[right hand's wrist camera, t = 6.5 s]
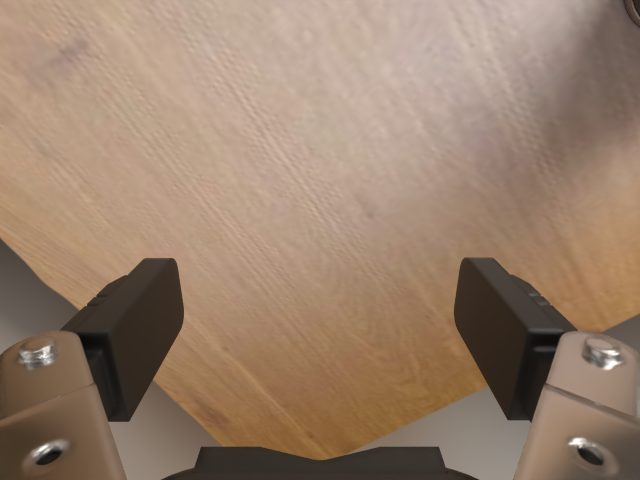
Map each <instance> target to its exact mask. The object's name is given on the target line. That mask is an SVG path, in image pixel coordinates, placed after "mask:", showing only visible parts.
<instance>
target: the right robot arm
mask: <svg viewBox="0 0 640 480" xmlns="http://www.w3.org/2000/svg"><path fill="white" fill-rule="evenodd" d="M624 2H625V6H626V9H627V12H628V13H629V15H630V17H631V18H632V20H633V21H634V22H635V23H636V24H637V25H638V26H639V27H640V0H624ZM454 318H455V324H456V327H457V329H458V331H459V333H460V335H461V337H462V338H463V340H464V342H465V344H466V346H467V347H468V349H469V351H470V353H471V355H472V356H473V358H474V360H475V362H476V364H477V365H478V367H479V369H480V371H481V373H482V375H483V376H484V378H485V380H486V382H487V384H488V385H489V387H490V389H491V391H492V392H493V394H494V396H495V398H496V400H497V402H498V403H499V405H500V407H501V409H502V410H503V412H504V414H505V416H506V418H507V419H508V420H530V422H531V426H530V429H529V432H528V435H527V438H526V441H525V444H524V447H523V450H522V453H521V456H520V460H519V463H518V466H517V469H516V472H515V475H514V478H513V480H640V355H639V354H638V353H637V352H636V351H635V350H633V349H632V348H631V347H629V346H627V345H626V344H624V343H622V342H620V341H618V340H616V339H614V338H611V337H608V336H605V335H602V334H598V333H594V332H588V331H578V330H577V329H576V328H575V327H574V326H573V325H572V324H571V323H570V322H569V321H568V320H567V319H566V318H565V317H564V316H563V315H562V314H561V313H560V312H558V311H557V310H556V309H555V308H554V307H553V306H552V305H550V303H549V302H548V301H547V300H546V299H545V298H544V297H543V296H541V294H540V293H539V292H538V291H537V290H536V289H535V288H534V287H533V286H532V285H530V284H529V283H527V282H525V281H524V280H522V279H520V278H518V277H516V276H514V275H510V274H509V273H508V272H507V271H506V270H505V269H504V268H503V267H502V266H501V265H500V264H499V263H498V262H497V261H496V260H495V259H494V258H464V259H463V260H462V262H461V265H460V271H459V278H458V285H457V292H456V298H455V305H454ZM183 319H184V306H183V299H182V293H181V286H180V279H179V273H178V267H177V263H176V261H175V260H174V259H173V258H145V259H143V260H142V261H141V262H140V263H139V264H138V265H137V266H136V267H135V268H134V269H133V270H132V271H131V272H130V273H129V274H128V275H125V276H123V277H121V278H119V279H117V280H115V281H113V282H111V283H109V284H108V285H107V286H106V287H104V288H103V289H102V290H101V291H100V292H99V293H98V294H97V297H94V298H93V299H92V300H91V301H90V302H89V303H88V304H87V306H85V307H84V308H82V309H81V310H80V311H79V312H78V313H77V314H76V315H75V316H74V317H73V318H72V319H71V320H70V321H69V322H68V323H67V324H66V325H65V326H64V327H63V328H62V329H61V330H59V331H52V332H46V333H42V334H38V335H35V336H32V337H29V338H26V339H24V340H22V341H20V342H18V343H16V344H14V345H13V346H11V347H9V348H8V349H7V350H5V351H4V352H3V353H2V354H1V355H0V480H127V478H126V475H125V472H124V469H123V466H122V463H121V460H120V456H119V453H118V450H117V447H116V444H115V441H114V438H113V435H112V432H111V429H110V426H109V423H108V422H129V421H130V419H131V417H132V415H133V414H134V412H135V410H136V408H137V407H138V405H139V403H140V401H141V399H142V398H143V396H144V394H145V392H146V390H147V389H148V387H149V385H150V383H151V381H152V380H153V378H154V376H155V375H156V373H157V371H158V369H159V367H160V366H161V364H162V362H163V360H164V358H165V357H166V355H167V353H168V351H169V350H170V348H171V346H172V344H173V342H174V341H175V339H176V337H177V335H178V334H179V332H180V330H181V328H182V324H183ZM162 480H478V479H476V478H474V477H472V476H470V475H467V474H464V473H461V472H459V471H456V470H452V469H449V468H446V467H445V464H444V461H443V458H442V455H441V452H440V449H439V447H378V448H374V449H369V450H365V451H361V452H357V453H353V454H348V455H344V456H340V457H336V458H332V459H328V460H312V459H308V458H304V457H300V456H296V455H292V454H287V453H283V452H279V451H275V450H271V449H267V448H262V447H201V449H200V452H199V455H198V458H197V461H196V464H195V467H194V468H192V469H188V470H184V471H181V472H179V473H176V474H173V475H170V476H168V477H166V478H164V479H162Z"/></svg>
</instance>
